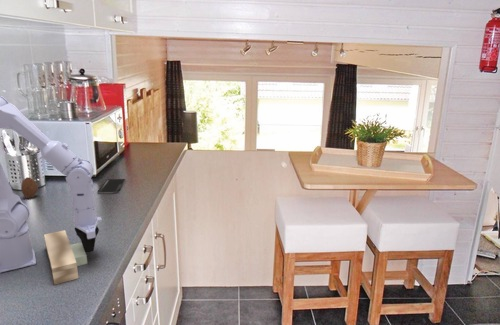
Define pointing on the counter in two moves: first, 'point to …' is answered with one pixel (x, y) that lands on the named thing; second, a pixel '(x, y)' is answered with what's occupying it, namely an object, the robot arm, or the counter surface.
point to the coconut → (29, 187)
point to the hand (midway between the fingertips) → (89, 251)
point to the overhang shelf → (61, 257)
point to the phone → (111, 186)
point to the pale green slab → (79, 254)
